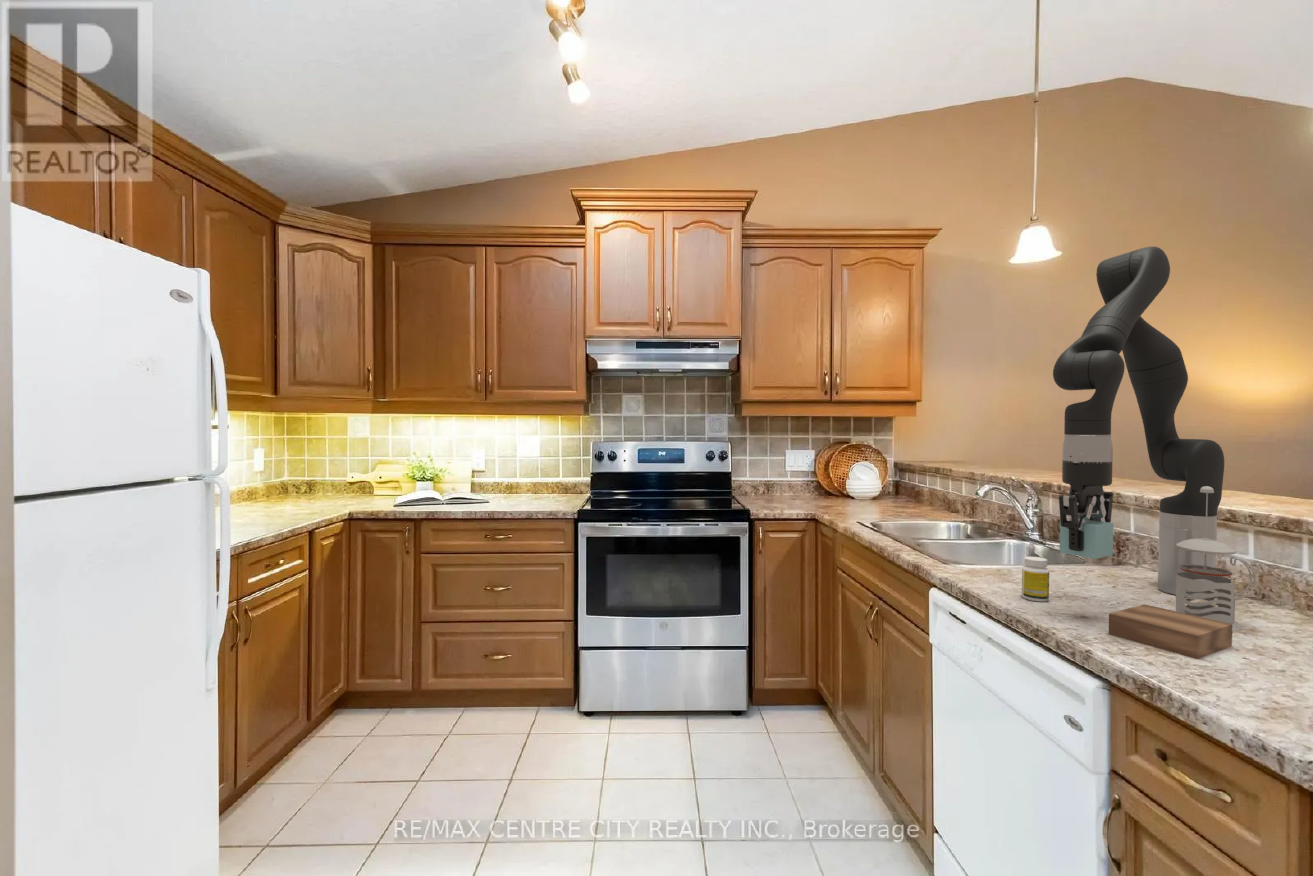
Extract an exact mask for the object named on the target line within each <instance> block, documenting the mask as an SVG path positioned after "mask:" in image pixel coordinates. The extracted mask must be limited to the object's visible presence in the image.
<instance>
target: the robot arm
mask: <svg viewBox="0 0 1313 876" xmlns="http://www.w3.org/2000/svg"><path fill="white" fill-rule="evenodd" d="M1170 274H1171V265H1170V261H1169V258H1168V256H1167V254H1166V253H1165V251H1164V250H1163V249H1161V247H1159V246H1146V247H1142V248H1138V249H1135V250H1132V251H1128V252H1125V253H1123V254H1119V255H1116V256H1112V257H1109V258H1107V259H1104V260H1101V261H1100V263H1098V265H1097V268H1096V273H1095V275H1096V284H1097V285H1098V290H1099V292H1100V295H1101V298H1102V300H1103V302H1104V305H1103V306H1102V307H1101V308H1099V309H1098V310H1097V311H1096V312H1095V313H1094V314H1093V315H1092V317H1091V318H1090V319H1089V320H1088V322H1087V325H1086V327H1084V330H1083V332H1082V334H1081V336H1080V337H1079V338H1077V340H1075V341H1074V342H1073V343H1072V344H1070V345H1069V347H1067V348H1066V349H1065V350H1064V351H1063V352H1062V353H1061V354H1060V355H1059V357H1058V358H1057V360H1056V362H1055V364H1054V366H1053V370H1052V378H1053V380H1054V383H1055V384H1056V385H1057V386H1058V387H1059V388H1061V389H1062V390H1065V391H1083V390H1085V391H1087V390H1088V391H1089V390H1090V391H1091V390H1095V391H1094V393H1093V394H1092V396H1091V397H1090V398H1089V399H1087V400H1085V401H1080V402H1075V403H1071V404H1068V405H1067V406H1066V407H1065V409H1064V435H1063V442H1062V462H1061V463H1062V464H1061V465H1062V466H1061V469H1062V472H1061V476H1062V477H1061V478H1062V479H1061V480H1062V483H1064V484H1066V485H1069V486H1070V488H1069V492H1068V494H1060V495H1059V496H1058V505H1059V517H1060V518H1059V519H1060V521H1059V523H1060V522H1061V526H1062V527H1066V528H1067V529H1069V549H1070V550H1074V551H1083V550H1084V531H1083V530H1084V527H1085V523H1086V521H1087V520H1093V521H1100V522H1109V523H1112V513H1113V512H1112V511H1113V501H1114V493H1113V492H1111V491H1104V487H1107V486H1111V485H1112V484H1113V443H1112V442H1113V441H1112V412H1113V408H1114V404H1115V401H1116V400H1115V399H1116V397H1117V394H1118V390H1119V389H1120V385H1121V382H1122V381H1123V378H1124V374H1125V368H1126V370H1127V374H1128V376H1129V380H1130V383H1131V386H1132V389H1133V392H1134V395H1135V398H1136V402H1137V404H1138V405H1137V406H1138V409H1139V413H1140V416H1141V420H1142V424H1143V430H1144V438H1145V442H1146V449H1147V453H1148V454H1147V455H1148V459H1149V463H1150V466H1151V468H1152V470H1153V471H1154V473H1155V475H1157V476H1158V478H1160V479H1163V480H1167V481H1176V482H1185V484H1184V488H1183V490H1182V491H1181V492H1179V493H1178V494H1175V495H1171V496H1165V497H1163V498H1161V499H1160V501H1159V513H1158V515H1159V518H1158V520H1159V521H1158V525H1159V526H1158V529H1159V530H1158V562H1157V565H1158V566H1157V567H1158V568H1157V590H1159V591H1161V592H1163V593H1164V592H1165V593H1167V594H1171V595H1175V596H1176V579H1177V573H1180V572H1186V571H1184V570H1181V569H1180V567H1179V566H1180V565H1187V564H1189V565H1190V564H1191V565H1192V564H1193V565H1200V566H1201V565H1202V566H1205V553H1199V552H1192V551H1187V550H1183V549H1180V548H1178V547H1177V545H1176V544H1177V543H1179V542H1182V541H1184V540H1189V539H1202V538H1205V530H1206V494H1207V493H1202V492H1200V489H1201V488H1202V487H1204V486H1208V487H1212V488H1213V490H1214V493H1208V507H1207V538H1208V539H1210V540H1214V541H1217V539H1218V538H1217V535H1218V531H1217V529H1218V509H1219V506H1220V503H1221V500H1222V495H1223V484H1224V482H1223V481H1224V474H1225V455H1224V451H1223V449H1222V446H1220V444H1219V443H1218V442H1216V441H1214V440H1212V439H1202V438H1201V439H1200V438H1199V439H1198V438H1180V437H1179V435H1178V433H1177V429H1176V424H1175V414H1176V410H1177V408H1178V405H1179V403H1180V401H1181V399H1182V398H1183V395H1184V393H1185V391H1186V388H1187V386H1188V381H1189V375H1188V371H1187V367H1186V364H1185V363H1186V362H1185V361H1184V357H1183V353H1182V351H1181V349H1180V347H1179V346H1178V345H1177V343H1175V342H1174V341H1173V340H1172V339H1171V338H1169V337H1168V336H1167V335H1166V334H1164V333H1162V332H1161V331H1160V330H1159V329H1157V328H1155V327H1154V326H1153V325H1151V324H1150V323H1149V322H1147V321H1146V320H1145V319H1144V318H1143V317H1142V315H1143V313H1144V312H1145V311H1146V310H1147V308H1148V307H1149V306H1150V305H1151V304H1152V303H1153V302H1154V300H1155V298H1156V297H1158V295H1159V294H1160V293H1161V292H1162V291H1163V289H1164V288H1165V286H1166V285H1167V284H1168V281H1169V279H1170ZM1120 353H1122V354H1123V357H1122V356H1121V355H1120ZM1078 519H1080V520H1079V523H1078ZM1206 566H1207V567H1208V566H1209V567H1212V568H1213V567H1214V568H1215V567H1216V568H1217V554H1207V553H1206ZM1194 580H1198V581H1204V582H1212V581H1209V580H1206V579H1194ZM1212 583H1214V582H1212ZM1208 591H1211V592H1214V593H1216V590H1214V589H1213V590H1208ZM1186 592H1189V591H1188V590H1185V593H1186ZM1190 595H1198V596H1201V595H1206V593H1193V594H1190ZM1210 598H1212V599H1214V597H1210Z"/></svg>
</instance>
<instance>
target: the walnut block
mask: <svg viewBox="0 0 1313 876" xmlns="http://www.w3.org/2000/svg"><path fill="white" fill-rule="evenodd" d="M1108 635H1110V636H1114V637H1116V638H1120V639H1123V640H1128V641H1130V642H1135V643H1138V644H1142V645H1145V646H1149V647H1153V648H1157V649H1159V650H1163V651H1167V652H1170V653H1175V654H1177V655H1178V654H1179V655H1180V656H1181V655H1182V656H1185V657H1188V658H1191V659H1195V660H1199V659H1202V658H1205V657H1207V656H1210V655H1212V654H1215V653H1217V652H1220V651H1223V650H1226V649H1228V648H1231V647H1233V631H1232V624H1229V623H1224V622H1220V621H1215V620H1211V619H1207V618H1202V617H1198V616H1194V615H1189V614H1185V613H1180V612H1176V610H1171V609H1166V608H1162V607H1158V606H1154V605H1150V604H1145V603H1144V604H1140V605H1136V606H1132V607H1128V608H1125V609H1122V610H1117V611H1114V612H1109V613H1108Z"/></svg>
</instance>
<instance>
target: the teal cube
mask: <svg viewBox="0 0 1313 876" xmlns="http://www.w3.org/2000/svg"><path fill="white" fill-rule="evenodd" d="M1079 520H1080V519H1078V523H1079ZM1083 531H1084V550H1083V551H1074V550H1070V549H1069V529H1067V528H1066V527H1062V526H1061V522H1060V521H1059V553H1060V554H1067V555H1072V556H1077V557H1083V558H1089V559H1094V560H1097V559H1102V558H1106V557H1111V556H1113V555H1114V522H1110V523H1109V522H1100V521H1093V520H1087V521H1086V523H1085V527H1084V530H1083Z"/></svg>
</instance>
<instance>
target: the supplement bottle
mask: <svg viewBox="0 0 1313 876" xmlns="http://www.w3.org/2000/svg"><path fill="white" fill-rule="evenodd" d="M1023 563H1024V564H1023V565H1024V566H1022V567H1021V568H1022V569H1021V571H1022V572H1021V597H1022V598H1023V599H1026V600H1028V601H1032V602H1040V603H1044V602H1048V601H1049V598H1050V570H1049V569H1048V568H1047V567H1048V565H1049V564H1048V559H1046V558H1044V557H1038V556H1025V557H1024V562H1023Z"/></svg>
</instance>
